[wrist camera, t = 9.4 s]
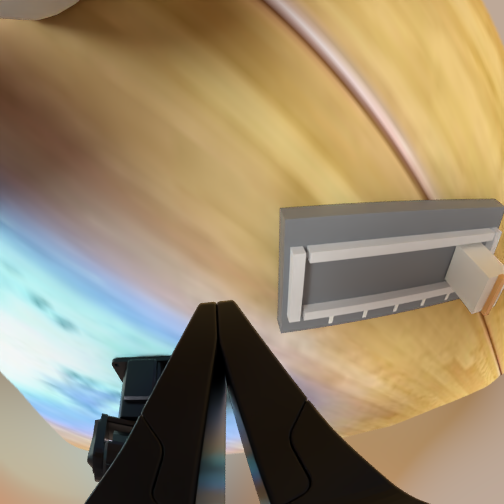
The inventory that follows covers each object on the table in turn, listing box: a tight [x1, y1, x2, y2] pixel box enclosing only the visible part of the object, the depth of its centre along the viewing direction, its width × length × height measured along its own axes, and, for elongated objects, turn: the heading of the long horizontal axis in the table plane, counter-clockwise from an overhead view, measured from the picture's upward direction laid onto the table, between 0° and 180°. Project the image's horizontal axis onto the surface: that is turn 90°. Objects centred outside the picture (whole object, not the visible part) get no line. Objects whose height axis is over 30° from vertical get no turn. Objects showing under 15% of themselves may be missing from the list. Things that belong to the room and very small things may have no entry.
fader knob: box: [445, 242, 504, 316], centre depth 21 cm, size 4×3×5 cm
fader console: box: [277, 199, 504, 333], centre depth 23 cm, size 10×20×2 cm, turn 92°
